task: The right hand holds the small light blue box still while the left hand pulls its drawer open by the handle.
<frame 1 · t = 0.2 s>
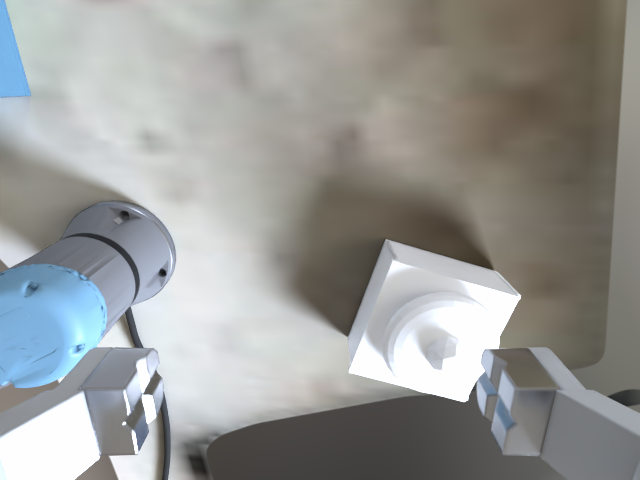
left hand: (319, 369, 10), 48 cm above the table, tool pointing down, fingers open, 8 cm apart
butter dish: (417, 304, 64), on the table
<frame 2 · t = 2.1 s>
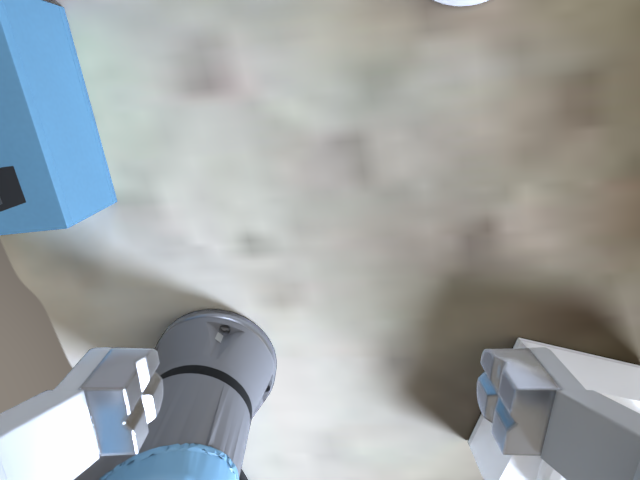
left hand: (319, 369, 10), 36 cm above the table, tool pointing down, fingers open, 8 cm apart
butter dish: (550, 403, 56), on the table
light blue box: (42, 117, 43), on the table
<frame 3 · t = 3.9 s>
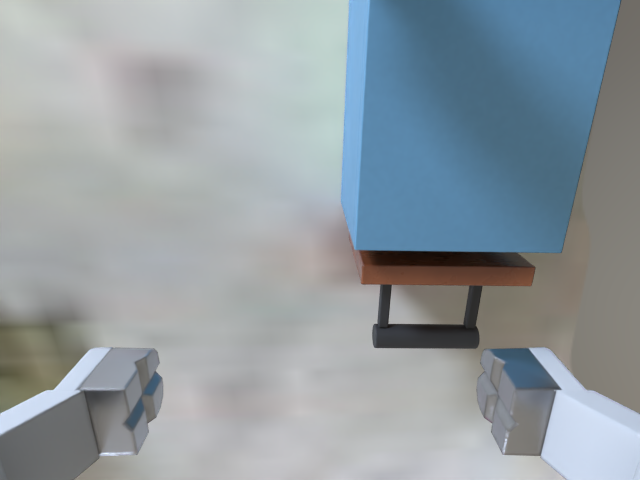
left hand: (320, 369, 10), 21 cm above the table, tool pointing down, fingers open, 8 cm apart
light blue box: (429, 61, 27), on the table, touching right hand
drawer: (440, 163, 25), point 5 cm above the table, slide at 1.2 cm
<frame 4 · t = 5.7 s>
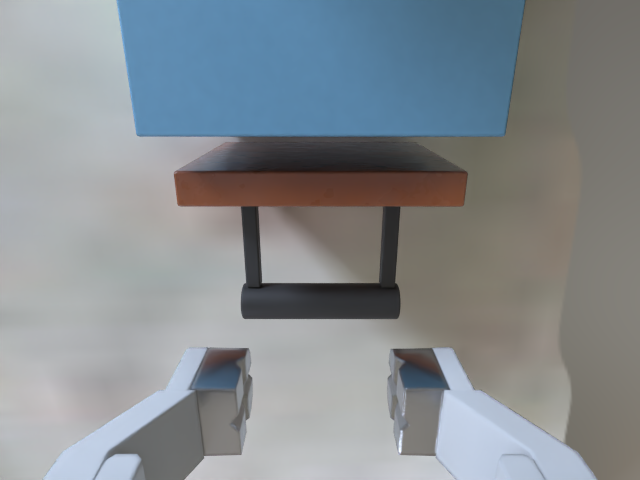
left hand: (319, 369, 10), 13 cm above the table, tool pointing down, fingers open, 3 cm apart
drawer: (320, 18, 15), point 5 cm above the table, slide at 1.2 cm
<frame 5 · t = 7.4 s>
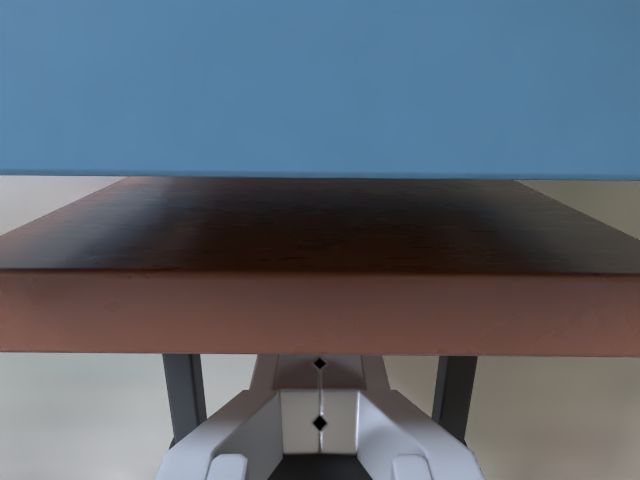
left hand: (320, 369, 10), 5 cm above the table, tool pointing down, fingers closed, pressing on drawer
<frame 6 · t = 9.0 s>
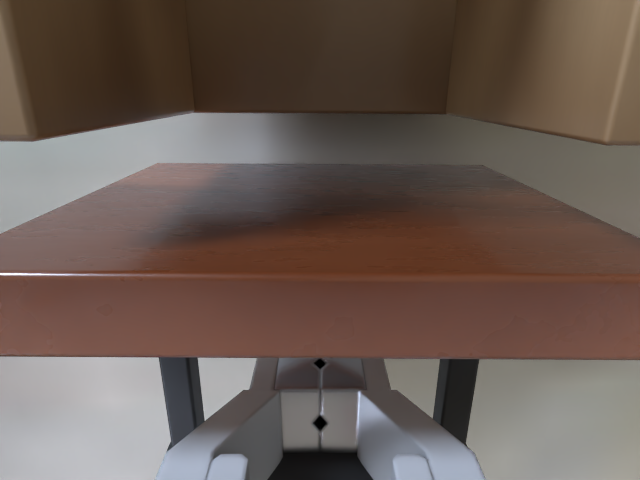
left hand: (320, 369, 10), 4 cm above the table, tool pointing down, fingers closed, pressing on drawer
when the right hand's fingers open (5 cm above the table, at t = 10.8 s): light blue box stays where it is, on the table.
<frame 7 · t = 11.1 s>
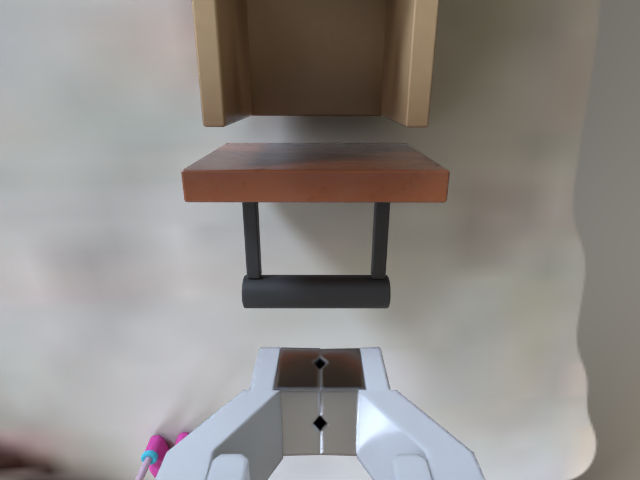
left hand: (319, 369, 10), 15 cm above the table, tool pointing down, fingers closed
drawer: (316, 29, 17), point 5 cm above the table, slide at 9.6 cm
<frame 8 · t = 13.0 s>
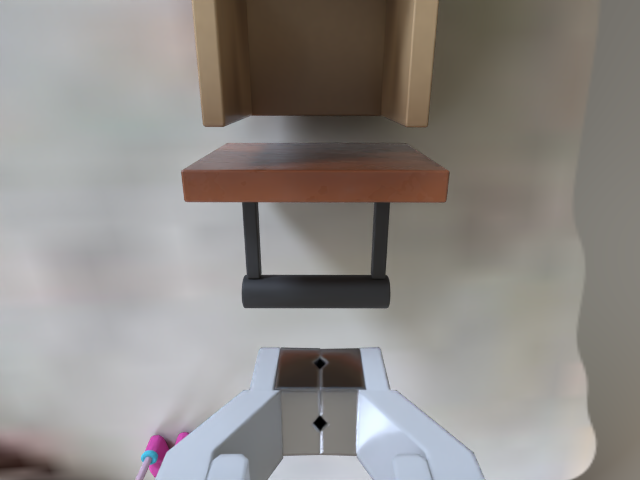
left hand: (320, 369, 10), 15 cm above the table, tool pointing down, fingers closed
drawer: (316, 29, 17), point 5 cm above the table, slide at 9.6 cm
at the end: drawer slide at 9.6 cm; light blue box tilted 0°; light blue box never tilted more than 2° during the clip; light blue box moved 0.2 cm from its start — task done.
